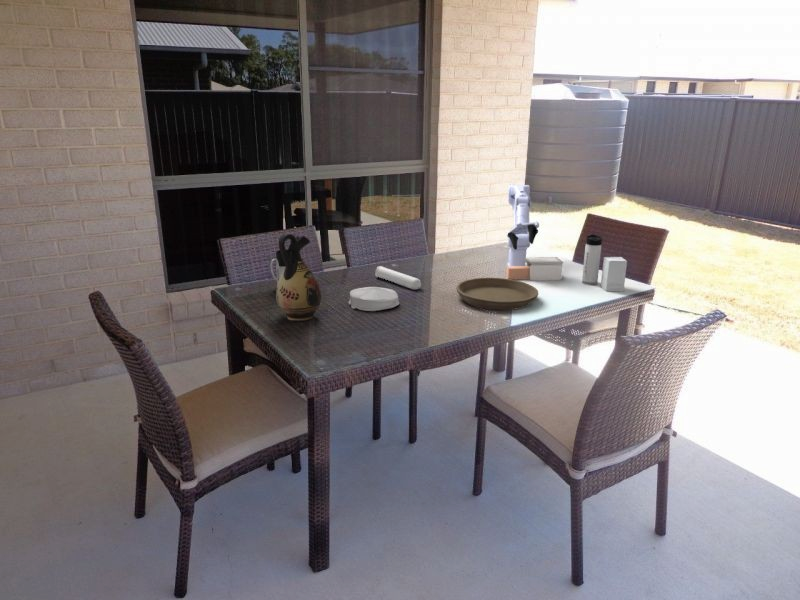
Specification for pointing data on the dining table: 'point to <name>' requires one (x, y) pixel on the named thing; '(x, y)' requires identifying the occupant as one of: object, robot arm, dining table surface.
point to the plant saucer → (497, 293)
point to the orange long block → (518, 272)
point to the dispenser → (544, 268)
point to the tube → (398, 278)
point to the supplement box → (613, 273)
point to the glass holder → (279, 265)
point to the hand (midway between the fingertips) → (522, 245)
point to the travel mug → (592, 259)
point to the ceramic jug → (297, 282)
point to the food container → (373, 298)
